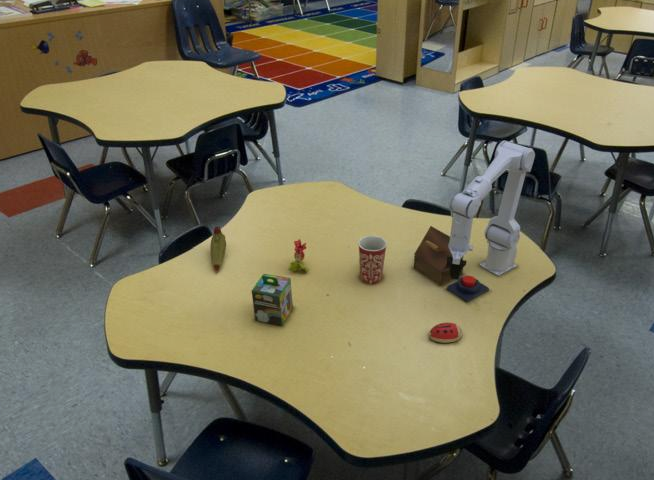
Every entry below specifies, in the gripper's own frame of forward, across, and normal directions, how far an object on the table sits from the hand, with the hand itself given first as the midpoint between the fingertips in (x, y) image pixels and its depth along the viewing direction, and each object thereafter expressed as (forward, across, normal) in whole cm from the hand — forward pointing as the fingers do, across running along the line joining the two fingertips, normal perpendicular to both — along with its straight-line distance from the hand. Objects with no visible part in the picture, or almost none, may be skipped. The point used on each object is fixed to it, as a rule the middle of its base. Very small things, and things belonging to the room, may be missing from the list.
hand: (455, 271), depth 176 cm
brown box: (+10, +13, +6) cm, 18 cm away
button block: (+10, +6, -4) cm, 13 cm away
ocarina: (+11, +1, +80) cm, 81 cm away
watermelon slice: (+11, -18, 0) cm, 21 cm away
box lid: (+1, +12, +7) cm, 14 cm away
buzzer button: (+8, +6, -4) cm, 10 cm away
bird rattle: (+11, +3, +52) cm, 53 cm away
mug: (+11, +6, +27) cm, 30 cm away
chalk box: (+11, -22, +51) cm, 57 cm away
